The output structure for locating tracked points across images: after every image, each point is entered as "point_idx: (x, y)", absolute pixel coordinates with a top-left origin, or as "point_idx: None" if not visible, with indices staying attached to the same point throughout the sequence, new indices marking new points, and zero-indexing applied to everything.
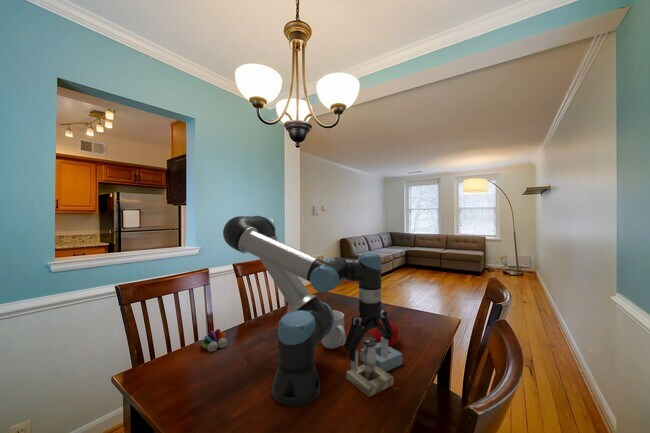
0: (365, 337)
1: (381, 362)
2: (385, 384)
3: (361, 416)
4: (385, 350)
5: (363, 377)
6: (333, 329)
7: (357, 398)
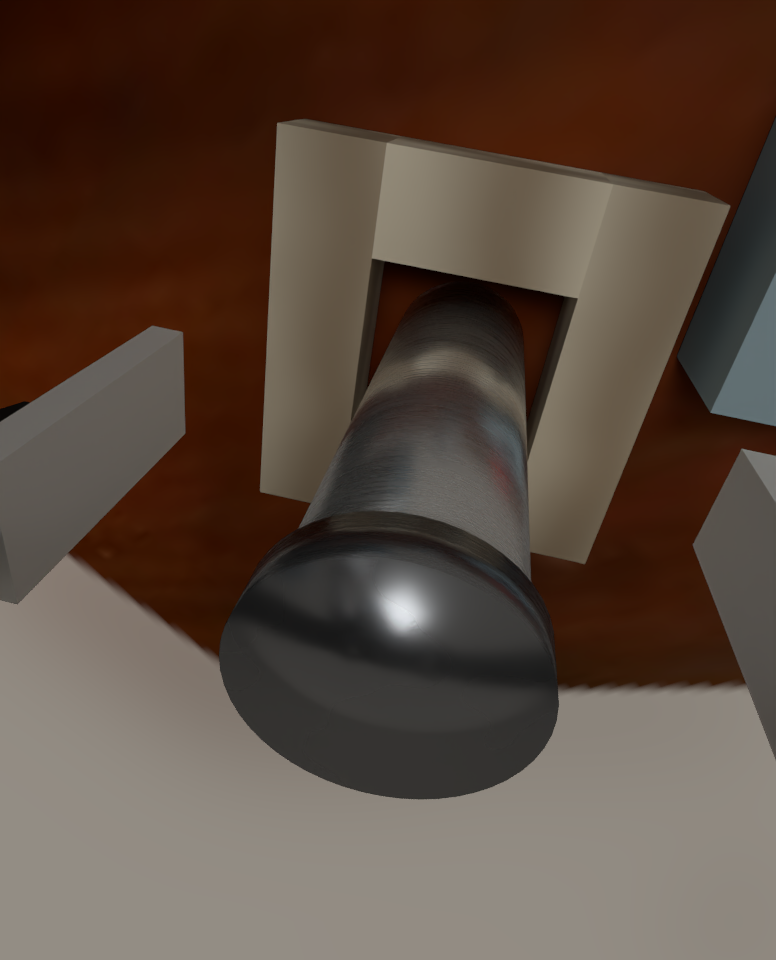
0: (417, 573)
1: (716, 412)
2: None
3: (116, 515)
4: (733, 609)
5: (353, 362)
6: None
7: (201, 401)
